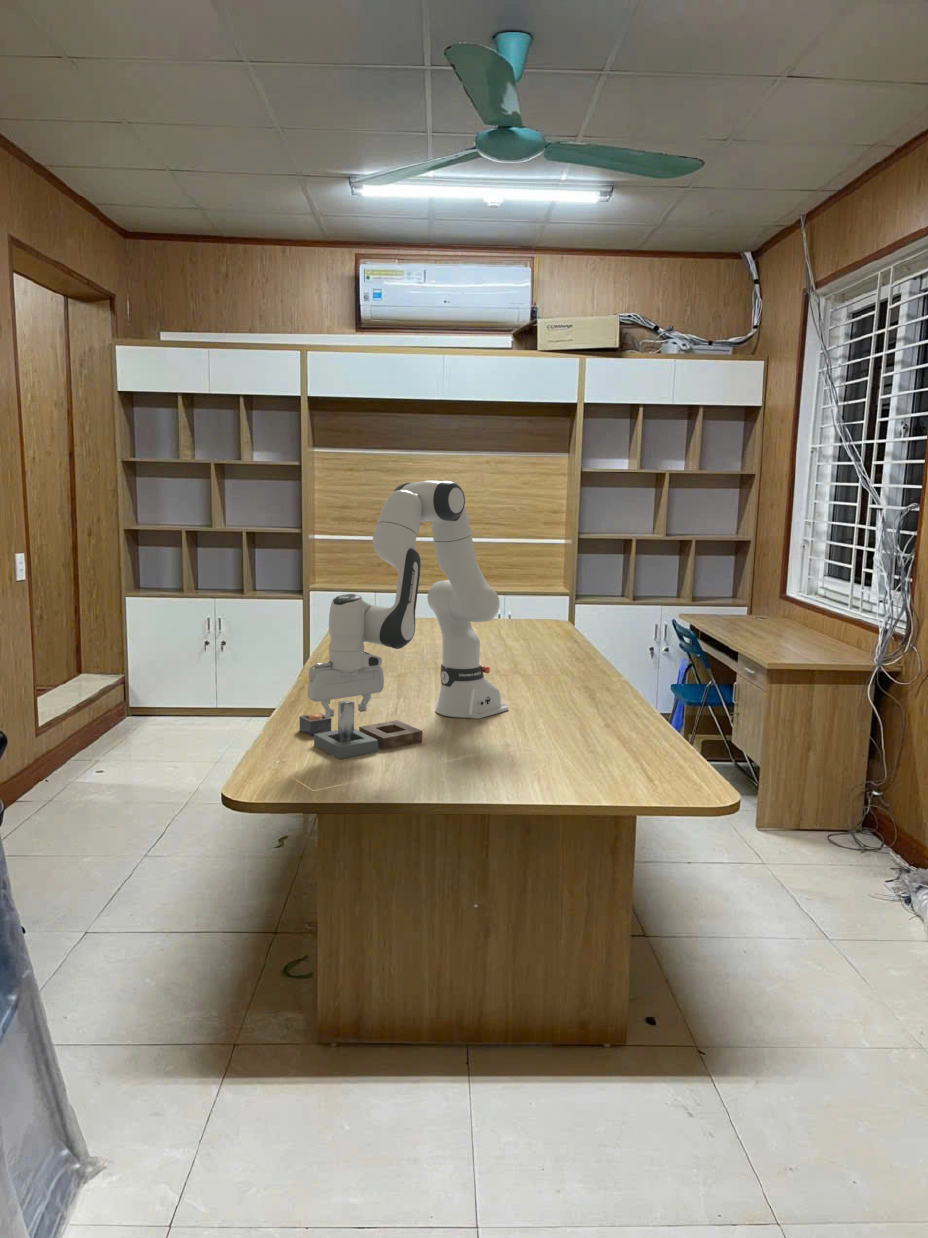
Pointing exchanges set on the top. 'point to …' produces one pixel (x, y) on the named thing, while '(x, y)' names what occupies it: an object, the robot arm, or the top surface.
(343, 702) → the grey metal cylinder
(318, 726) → the dark grey open box
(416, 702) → the top surface
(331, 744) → the block
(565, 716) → the top surface
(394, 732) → the socket block
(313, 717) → the brown egg
